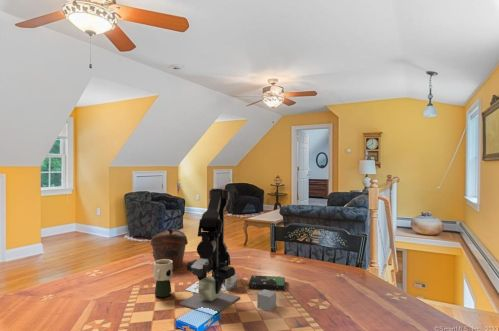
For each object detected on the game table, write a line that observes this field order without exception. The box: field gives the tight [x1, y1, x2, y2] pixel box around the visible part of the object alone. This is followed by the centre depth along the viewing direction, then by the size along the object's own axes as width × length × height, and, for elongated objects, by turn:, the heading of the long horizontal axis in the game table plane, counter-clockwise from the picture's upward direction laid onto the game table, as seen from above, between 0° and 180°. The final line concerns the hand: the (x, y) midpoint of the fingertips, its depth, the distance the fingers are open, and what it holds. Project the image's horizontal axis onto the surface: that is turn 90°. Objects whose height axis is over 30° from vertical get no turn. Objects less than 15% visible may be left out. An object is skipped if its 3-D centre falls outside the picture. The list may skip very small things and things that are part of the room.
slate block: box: [256, 289, 277, 312], centre depth 112 cm, size 5×5×5 cm
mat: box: [178, 291, 241, 313], centre depth 116 cm, size 16×16×1 cm
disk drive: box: [248, 274, 286, 292], centre depth 132 cm, size 10×3×15 cm
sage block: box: [198, 275, 223, 301], centre depth 116 cm, size 6×6×6 cm
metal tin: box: [224, 272, 238, 292], centre depth 128 cm, size 5×5×6 cm
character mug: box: [153, 259, 174, 298], centre depth 121 cm, size 11×7×13 cm, turn 174°
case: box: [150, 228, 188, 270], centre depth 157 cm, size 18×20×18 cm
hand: (210, 291), depth 116 cm, fingers closed on sage block, 6 cm apart
